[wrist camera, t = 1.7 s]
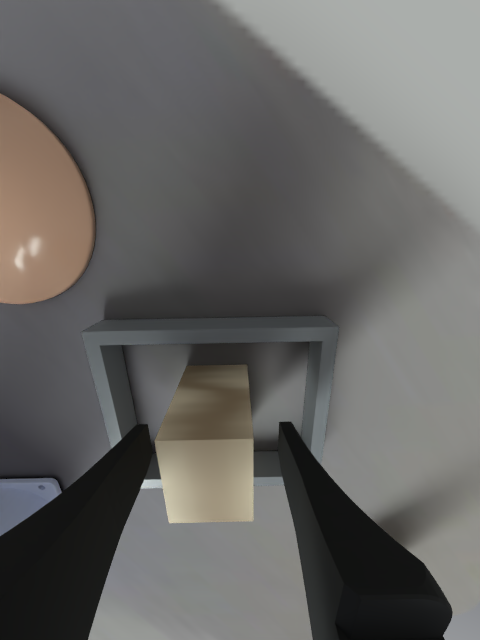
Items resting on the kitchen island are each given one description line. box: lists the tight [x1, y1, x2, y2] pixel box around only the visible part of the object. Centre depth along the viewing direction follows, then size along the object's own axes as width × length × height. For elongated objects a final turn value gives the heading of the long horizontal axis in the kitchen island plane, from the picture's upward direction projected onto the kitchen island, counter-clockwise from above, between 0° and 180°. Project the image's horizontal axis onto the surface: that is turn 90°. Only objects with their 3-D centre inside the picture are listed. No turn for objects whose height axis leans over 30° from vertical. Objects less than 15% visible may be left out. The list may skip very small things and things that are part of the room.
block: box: [155, 365, 253, 523], centre depth 13 cm, size 4×5×6 cm
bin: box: [81, 316, 339, 488], centre depth 14 cm, size 14×12×2 cm
